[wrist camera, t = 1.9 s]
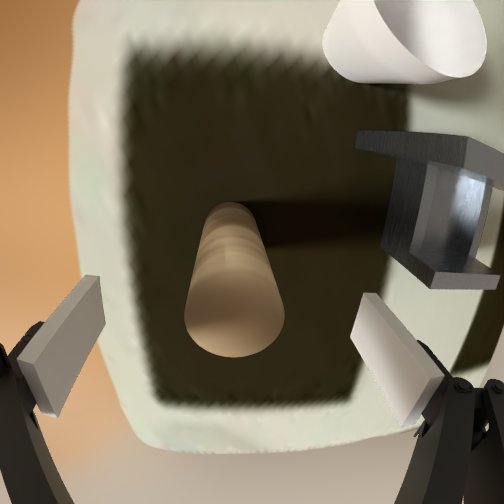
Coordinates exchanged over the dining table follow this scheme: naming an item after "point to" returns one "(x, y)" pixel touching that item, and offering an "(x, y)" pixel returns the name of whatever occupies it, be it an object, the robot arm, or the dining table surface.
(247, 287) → the wooden dowel
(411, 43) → the cup
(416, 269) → the bracket
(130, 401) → the dining table surface
